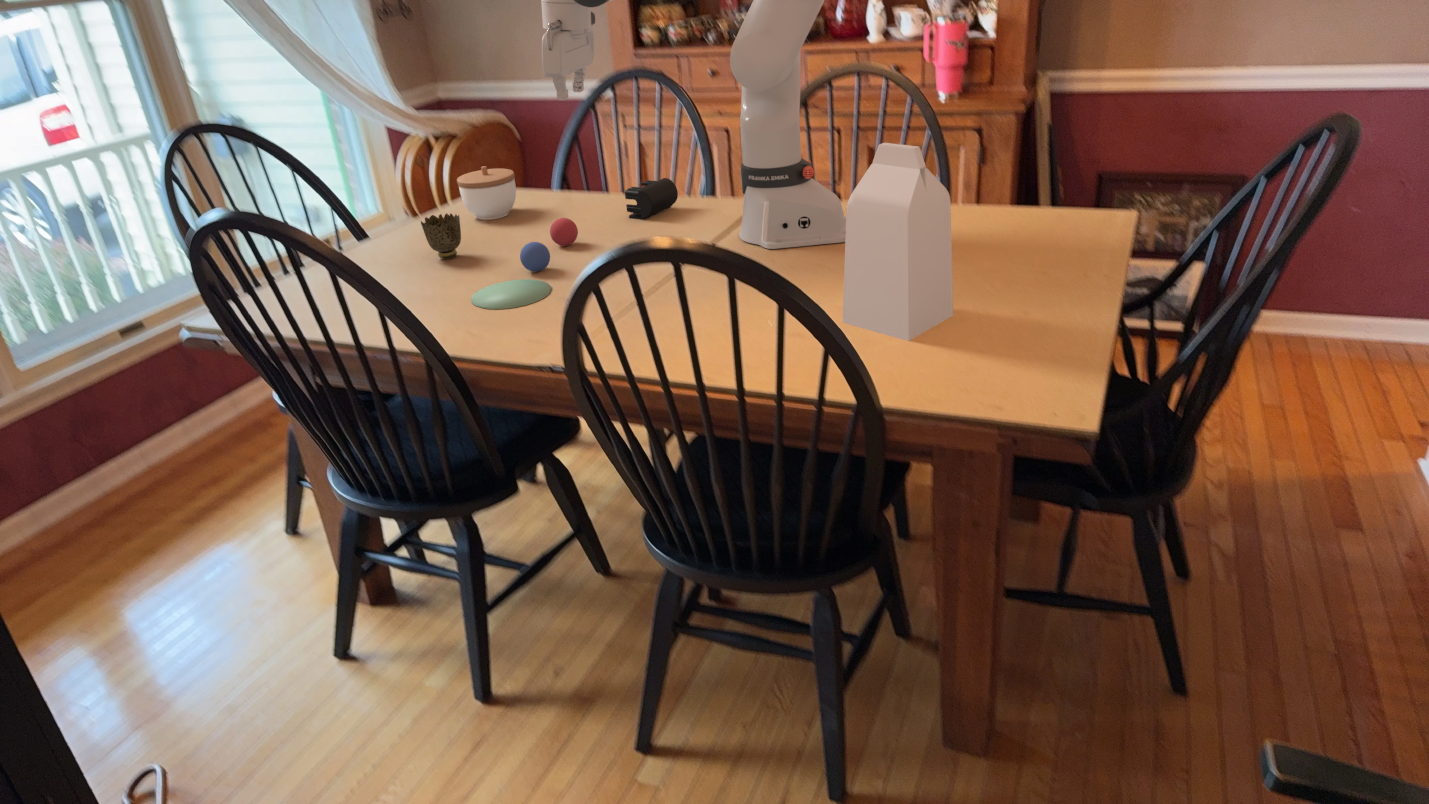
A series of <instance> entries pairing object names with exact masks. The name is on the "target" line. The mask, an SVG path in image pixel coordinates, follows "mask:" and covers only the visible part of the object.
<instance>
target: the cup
mask: <svg viewBox="0 0 1429 804" xmlns="http://www.w3.org/2000/svg"><path fill="white" fill-rule="evenodd" d="M460 220H461V219H460V214H458V215H457V213H455V214H454V215H453V214H452V213H445V214H444V216H443V215H442V213H440V214H439V215H438V216H436V215H434V214H431V215H430V216H429V217H428V216H426V217H424V222H423V221H422V220H420V224H421V227H422V229H423V234H424V236H425V238H426V239H425V240H427V243H428V245H429V246H430V248H431V249H432V250H433V251H435V252H438V253H437V255H438V258H439V259H441V260H450V259H453V258H456V256H457V253H458V250H457V248H458V247H459V246H460V244H461V241H462V234H461V233H462V232H461V231H462V230H461V221H460Z"/></svg>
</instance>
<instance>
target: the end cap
mask: <svg viewBox="0 0 1429 804" xmlns="http://www.w3.org/2000/svg"><path fill="white" fill-rule="evenodd" d="M640 185H641V187H639V186H631V187H630V188H629V187H628V188H627V189H626V190H624V197H625V200H633V201H635V202H636V204H626V212H627V213H631V214H629V215H628V218H629V219H631V220H641V221H644V220H647V219H650V218H651V217H654V216H656V215H658V214H660V213H662V212H664V211H666V210H668V209H670V208H672V206H673V205H674V204H675V203H676V202H677V201H678V200H677V199H678V197H679V191H678V188H677V185H676V184H675V183H674V182H673V181H672V180H671V179H670V178H668V177H663V178H661V179H659V180H649V179H647V180H645V181H643V182H641V183H640Z"/></svg>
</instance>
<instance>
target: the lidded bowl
mask: <svg viewBox="0 0 1429 804" xmlns="http://www.w3.org/2000/svg"><path fill="white" fill-rule="evenodd" d="M480 168H481V169H479V170H475V171H471V172H467V173H464V174H462V175H460V176H458V177H457V179H456V183H457V186H458V189H459V194H460V198H461V199H462V202H463V204H464V206H465V208H466V209H467V210H468V212H470V213H471V214H472V215H474V216H475V217H476V218H477V220H482V221H491V220H498V219H501V218H504V217H507V216H508V215H509V214H510V212H511V209H513V208H514V207H513V206H514V205H515V202H516V198H517V188H516V187H517V185H516V181H515V172H514V171H513V170H512V169H509V168H499V167H498V168H497V167H495V168H488V167H487V165H485V166H484V165H483V166H481V167H480Z"/></svg>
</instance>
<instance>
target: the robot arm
mask: <svg viewBox="0 0 1429 804" xmlns="http://www.w3.org/2000/svg"><path fill="white" fill-rule="evenodd" d="M613 1H615V0H540V2H541V3H540V4H541V19H542V28H543V29H544V30H546V32H545V33H543V35H542V37H541V38H542V39H541V67H542V73H543V75H544V77H545V78H552V82H553V85H554V88H555V91H556V99H557V100H558V101H566V100H568V99H569V89H567V85H566V82H567V75H569V74H572V73H573V82H572V91H573V92H574V93H581V92H583V91H584V90H585V86H584V81H585V76H586V67H588V66H590V65H592V64H593V61H594V56H595V30H594V26H596V24H597V15H596V13H595V12H594V11H593V10H592V9H591V8H596V7H600V6H602V5H604V4H606V3H609V2H613ZM824 2H825V0H752V3H751V5H750V7H749V9H748V11H747V13H746V16H745V17H744V20H743V21H742V23H741V26H740V28H739V30H738V33H737V34H736V37H735V39H734V41H733V44H732V46H731V48H730V54H729V65H730V69H731V72H732V73H731V74H732V75H733V77H734V79H735V80H736V81H737V83H738V84H739V85H741V101H740V103H741V104H740V118H739V125H740V127H739V129H740V144H741V156H742V162H741V164H740V173H739V174H740V184H741V185H740V186H741V187H740V188H741V192H742V194H743V205H742V206H743V209H742V219H741V225H740V230H739V233H738V237H739V239H740V240H742V241H743V242H746V243H749V244H754V245H759V246H760V247H763V248H765V249H768V250H776V249H785V248H796V247H808V246H815V245H816V246H817V245H828V244H837V243H839V244H840V243H845V238H846V216H845V215H844V213H845V212H844V210H843V205H842V203H841V200H840V198H839V197H838V195H837V194H836V193H834V192H833V191H832V190H830V189H828V188H827V187H825V186H824V185H823V184H821V183H819V182H818V181H817V180H816V179H814V178H813V176H814V174H815V169H814V168H813V163H812V161H811V160H810V159H808V161H807V160H806V159H804V158H802V147H801V146H802V145H801V125H800V123H801V122H800V121H801V120H800V118H801V117H800V108H801V50H802V48H803V45H804V44H805V42H806V39H807V36H808V35H809V33H810V31H811V29H812V27H813V25H814V23H815V21H816V19H817V16H818V15H819V13H820V11H821V8H822V6H823V4H824Z"/></svg>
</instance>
